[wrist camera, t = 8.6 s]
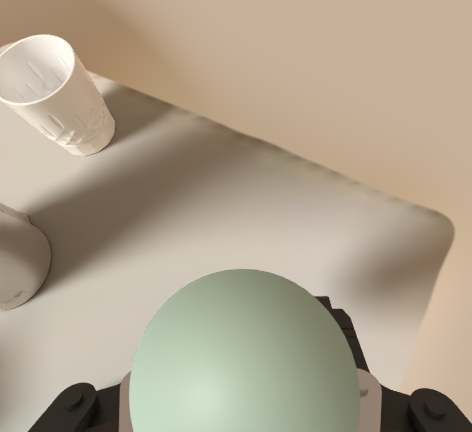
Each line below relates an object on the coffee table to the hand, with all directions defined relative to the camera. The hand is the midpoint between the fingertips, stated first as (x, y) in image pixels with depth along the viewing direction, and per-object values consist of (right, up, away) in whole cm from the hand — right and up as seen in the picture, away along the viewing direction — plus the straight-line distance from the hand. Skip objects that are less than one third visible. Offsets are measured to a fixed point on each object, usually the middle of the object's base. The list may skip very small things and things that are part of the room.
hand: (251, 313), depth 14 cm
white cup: (-18, +14, +25) cm, 34 cm away
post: (+1, -3, +4) cm, 6 cm away
